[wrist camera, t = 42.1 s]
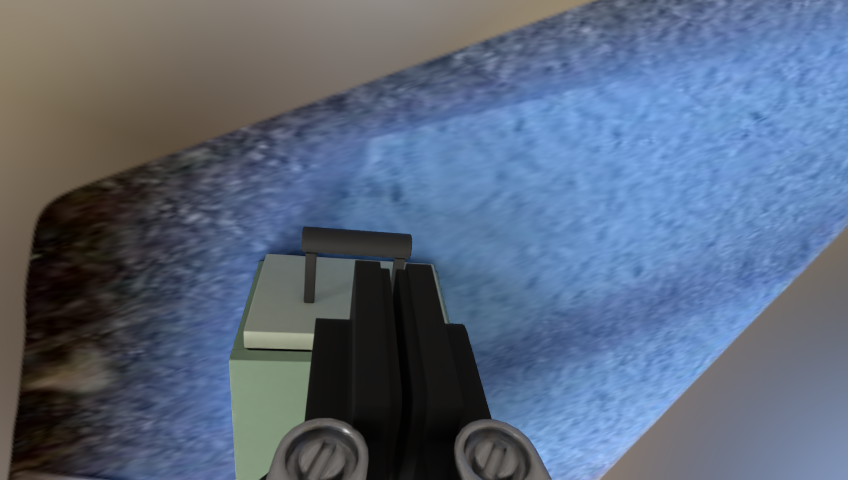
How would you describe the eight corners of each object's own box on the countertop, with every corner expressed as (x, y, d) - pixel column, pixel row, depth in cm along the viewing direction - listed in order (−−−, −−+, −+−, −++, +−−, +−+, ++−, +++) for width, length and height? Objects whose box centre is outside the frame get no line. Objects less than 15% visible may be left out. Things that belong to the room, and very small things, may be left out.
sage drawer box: (259, 260, 34) (228, 359, 26) (437, 271, 37) (460, 366, 28) (261, 406, 42) (238, 520, 33) (410, 408, 44) (422, 515, 36)
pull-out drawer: (265, 186, 31) (240, 253, 24) (445, 201, 33) (468, 267, 26) (267, 395, 40) (249, 486, 33) (408, 398, 42) (417, 484, 35)
